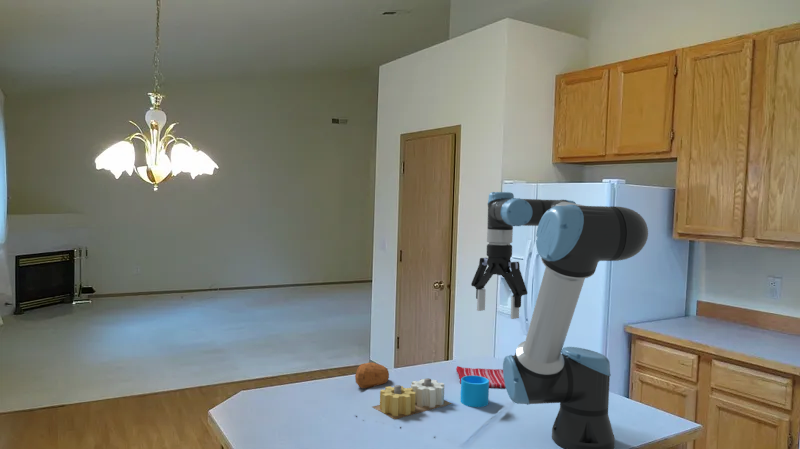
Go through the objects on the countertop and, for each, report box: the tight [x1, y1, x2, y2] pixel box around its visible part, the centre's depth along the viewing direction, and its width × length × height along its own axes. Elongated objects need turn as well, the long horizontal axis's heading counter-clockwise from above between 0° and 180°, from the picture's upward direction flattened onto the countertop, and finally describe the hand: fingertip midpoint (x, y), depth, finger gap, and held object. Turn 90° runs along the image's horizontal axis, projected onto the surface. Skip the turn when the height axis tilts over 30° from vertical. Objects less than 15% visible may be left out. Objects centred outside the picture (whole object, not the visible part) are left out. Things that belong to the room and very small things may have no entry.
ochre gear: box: [379, 385, 416, 416], centre depth 155 cm, size 10×10×5 cm
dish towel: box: [455, 366, 506, 389], centre depth 188 cm, size 17×24×3 cm
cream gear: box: [410, 378, 445, 408], centre depth 162 cm, size 10×10×5 cm
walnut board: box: [372, 378, 453, 420], centre depth 158 cm, size 11×21×8 cm, turn 127°
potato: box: [354, 362, 390, 389], centre depth 178 cm, size 9×11×8 cm
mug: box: [460, 376, 490, 408], centre depth 164 cm, size 12×8×8 cm
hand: (497, 314), depth 166 cm, fingers open, 13 cm apart
